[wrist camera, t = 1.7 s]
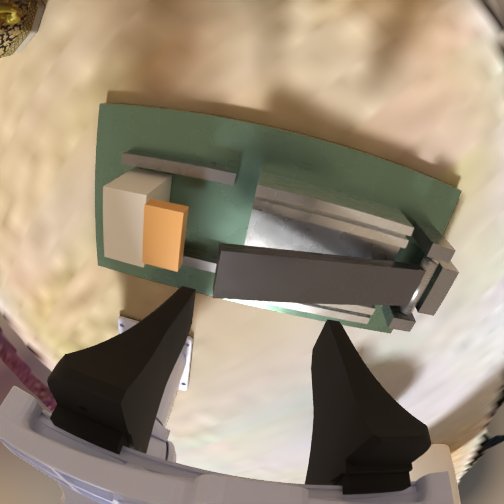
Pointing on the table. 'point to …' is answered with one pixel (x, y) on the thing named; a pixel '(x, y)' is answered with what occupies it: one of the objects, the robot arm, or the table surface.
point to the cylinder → (436, 466)
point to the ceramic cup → (18, 24)
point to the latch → (143, 220)
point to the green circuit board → (278, 202)
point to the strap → (318, 278)
